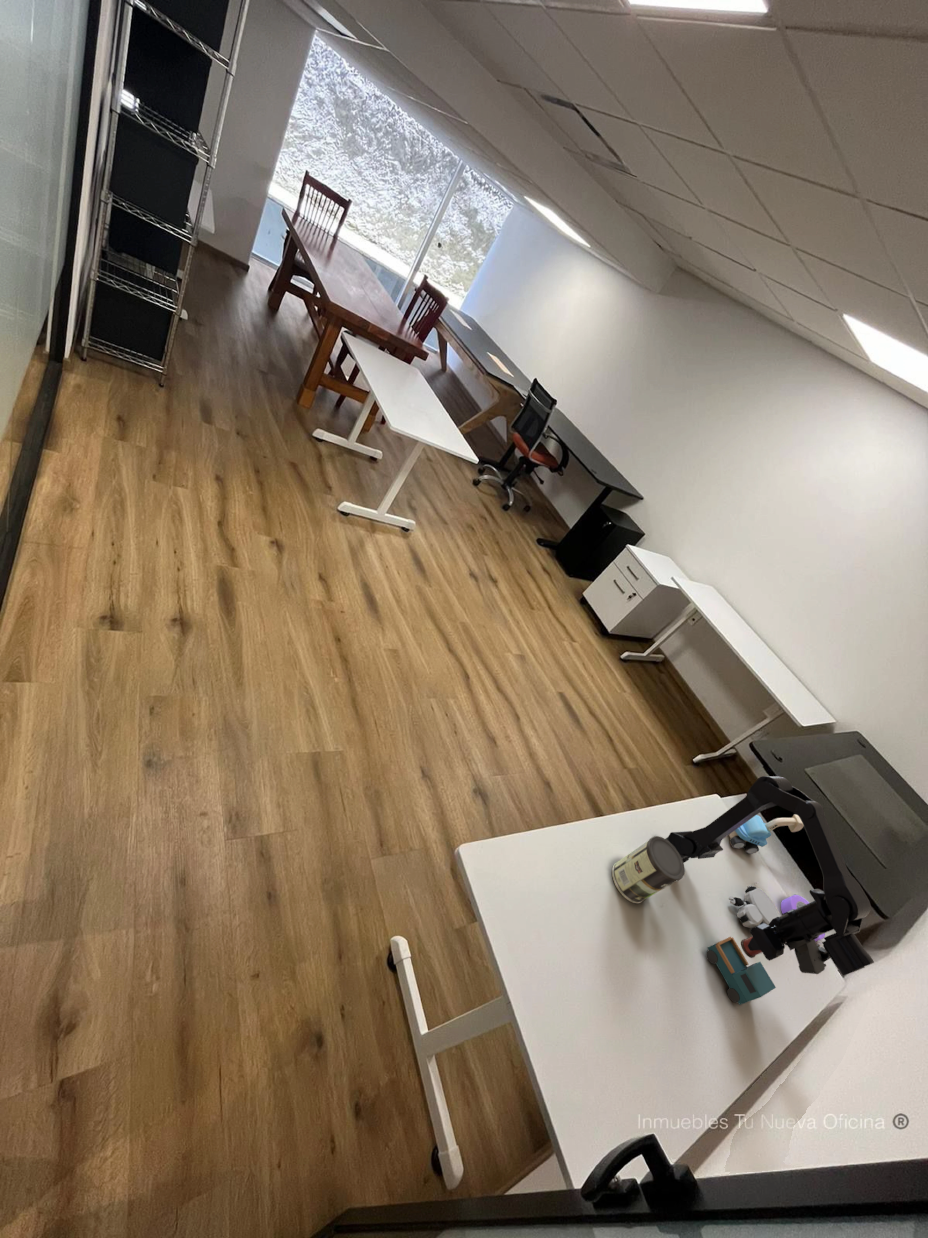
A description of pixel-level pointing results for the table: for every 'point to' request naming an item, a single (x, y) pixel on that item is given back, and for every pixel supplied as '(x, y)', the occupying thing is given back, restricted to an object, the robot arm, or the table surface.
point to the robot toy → (755, 907)
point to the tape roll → (796, 903)
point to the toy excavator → (760, 832)
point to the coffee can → (648, 870)
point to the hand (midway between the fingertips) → (753, 946)
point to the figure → (747, 951)
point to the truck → (739, 972)
